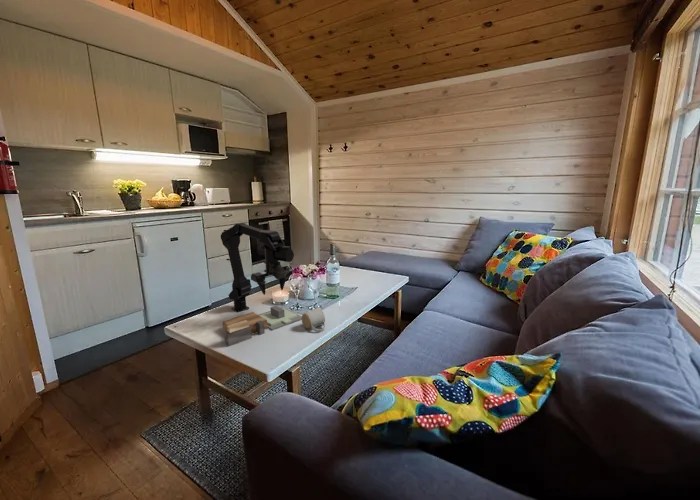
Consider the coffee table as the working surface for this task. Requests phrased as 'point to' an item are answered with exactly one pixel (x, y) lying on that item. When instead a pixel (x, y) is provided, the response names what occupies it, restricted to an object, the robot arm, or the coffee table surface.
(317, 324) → the ceramic mug
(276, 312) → the toolbox lid
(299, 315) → the rubber mat
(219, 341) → the coffee table surface
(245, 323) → the wooden block
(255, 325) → the toolbox
